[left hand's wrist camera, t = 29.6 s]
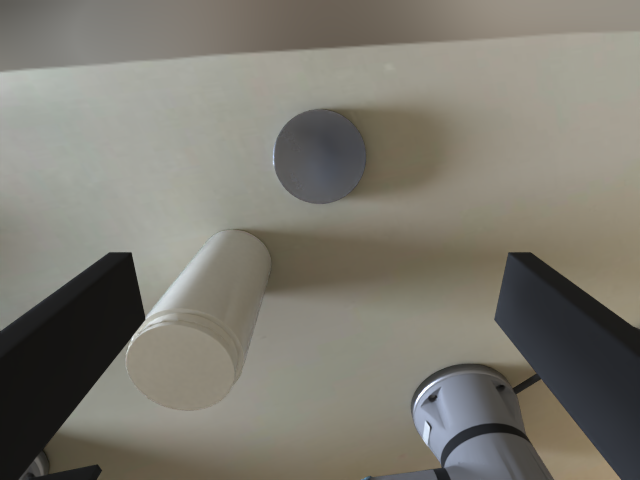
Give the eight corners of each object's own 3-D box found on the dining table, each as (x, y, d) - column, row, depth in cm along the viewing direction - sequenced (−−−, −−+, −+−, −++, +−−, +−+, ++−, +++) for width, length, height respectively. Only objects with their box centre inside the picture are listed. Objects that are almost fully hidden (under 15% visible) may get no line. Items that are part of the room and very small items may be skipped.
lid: (308, 215, 43) (308, 220, 41) (257, 144, 40) (254, 146, 38) (380, 168, 41) (383, 171, 39) (332, 89, 38) (333, 89, 36)
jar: (226, 214, 43) (159, 297, 25) (286, 259, 45) (263, 364, 27) (186, 266, 46) (98, 375, 28) (244, 306, 48) (198, 431, 30)
